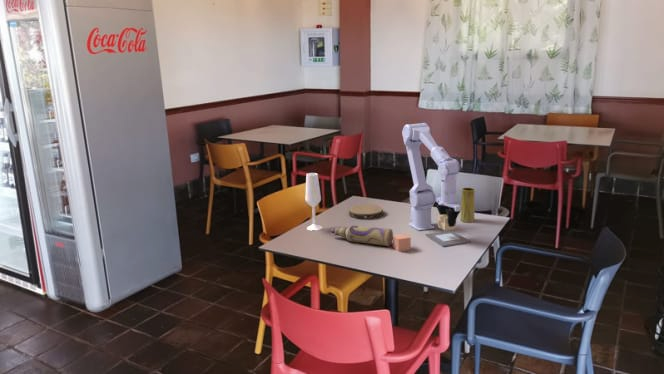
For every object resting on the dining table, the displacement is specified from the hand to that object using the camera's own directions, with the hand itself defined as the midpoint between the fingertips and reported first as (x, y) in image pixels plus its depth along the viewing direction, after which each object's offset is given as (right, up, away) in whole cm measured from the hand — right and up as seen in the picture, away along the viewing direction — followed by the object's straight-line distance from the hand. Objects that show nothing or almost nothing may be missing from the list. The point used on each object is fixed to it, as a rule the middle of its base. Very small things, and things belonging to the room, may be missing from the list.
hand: (447, 224), depth 200 cm
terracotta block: (-19, -9, -6) cm, 22 cm away
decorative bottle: (-33, -7, +3) cm, 34 cm away
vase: (+14, 0, +23) cm, 27 cm away
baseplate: (0, -6, +2) cm, 6 cm away
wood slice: (-30, +1, +37) cm, 48 cm away
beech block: (0, -2, 0) cm, 2 cm away
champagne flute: (-53, -3, +21) cm, 57 cm away
